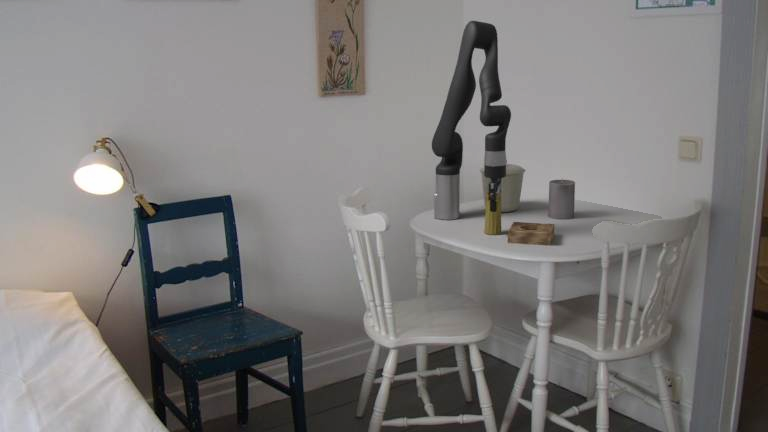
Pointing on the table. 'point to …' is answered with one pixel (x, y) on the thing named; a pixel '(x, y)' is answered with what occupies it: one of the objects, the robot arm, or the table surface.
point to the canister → (507, 187)
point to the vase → (493, 217)
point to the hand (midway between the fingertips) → (495, 209)
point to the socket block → (531, 233)
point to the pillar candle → (561, 199)
